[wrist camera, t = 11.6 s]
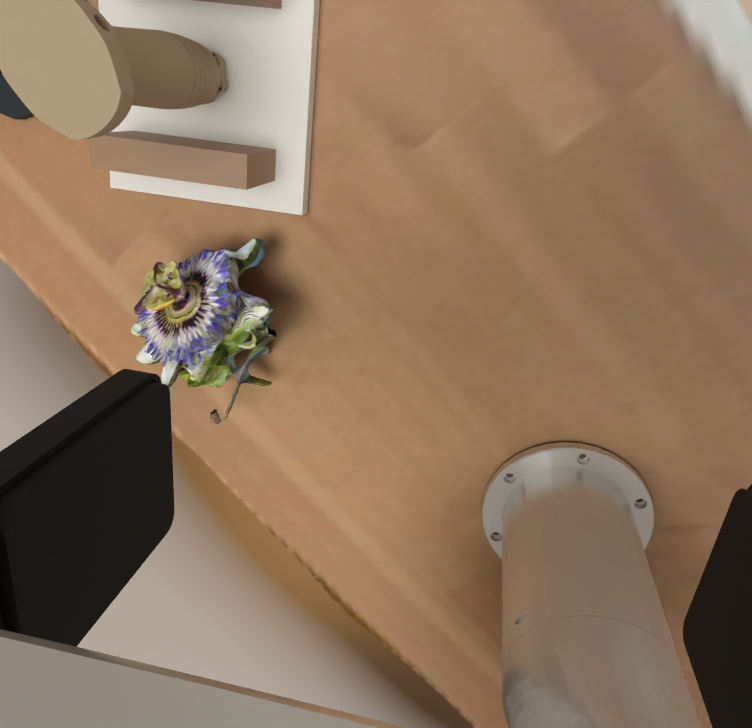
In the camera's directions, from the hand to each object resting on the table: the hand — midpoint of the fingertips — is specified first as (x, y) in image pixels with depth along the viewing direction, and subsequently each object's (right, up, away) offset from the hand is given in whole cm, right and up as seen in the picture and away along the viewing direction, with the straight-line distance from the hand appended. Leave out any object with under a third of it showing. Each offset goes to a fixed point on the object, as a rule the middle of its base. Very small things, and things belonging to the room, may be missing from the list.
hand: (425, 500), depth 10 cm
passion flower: (-11, +6, +37) cm, 39 cm away
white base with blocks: (-12, +21, +30) cm, 39 cm away
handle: (-12, +21, +29) cm, 38 cm away
